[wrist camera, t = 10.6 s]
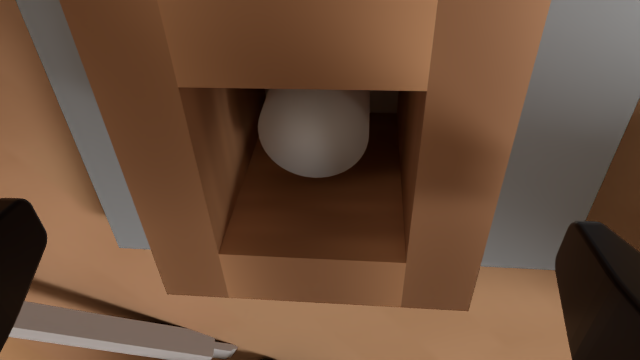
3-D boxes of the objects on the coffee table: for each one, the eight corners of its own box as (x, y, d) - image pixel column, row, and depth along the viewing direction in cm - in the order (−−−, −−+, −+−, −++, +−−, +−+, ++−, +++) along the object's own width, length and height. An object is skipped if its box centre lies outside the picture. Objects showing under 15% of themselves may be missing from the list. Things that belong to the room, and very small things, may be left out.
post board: (833, -463, 9) (1375, -764, 4) (552, 242, 20) (606, 380, 15) (-99, -394, 10) (-500, -549, 5) (133, 223, 21) (65, 342, 17)
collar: (479, -93, 11) (553, -8, 6) (440, 154, 15) (468, 310, 11) (183, -88, 12) (57, -7, 7) (227, 148, 16) (166, 294, 11)
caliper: (-157, 214, 23) (-297, 326, 19) (-160, 200, 23) (-306, 311, 18) (232, 349, 28) (202, 468, 23) (239, 341, 27) (209, 461, 22)
